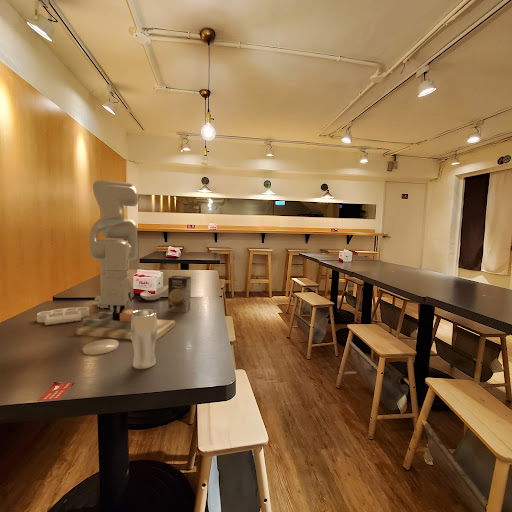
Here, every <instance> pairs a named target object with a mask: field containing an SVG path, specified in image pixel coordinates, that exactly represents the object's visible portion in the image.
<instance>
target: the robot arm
mask: <svg viewBox="0 0 512 512" xmlns="http://www.w3.org/2000/svg"><path fill="white" fill-rule="evenodd" d="M92 191H93V195H94V198H95V200H96V203H97V205H98V208H99V215H100V217H99V219H98V220H96V221H95V223H93V224H92V226H91V228H90V229H89V235H88V247H89V248H88V250H89V254H90V256H91V258H93V259H95V260H99V271H100V273H99V274H100V276H99V277H100V295H96V296H95V298H94V301H97V302H98V303H97V308H99V307H100V308H99V309H104V308H109V310H110V313H113V321H120V313H122V312H124V311H125V309H128V308H131V307H132V300H133V291H132V284H131V279H130V277H129V265H128V261H134V260H136V259H137V258H138V254H139V253H138V252H139V251H138V249H139V248H138V247H139V246H138V243H139V242H138V227H137V223H136V222H135V221H134V220H132V219H125V208H124V207H136V206H137V205H138V202H139V194H138V190H137V188H136V186H135V185H134V184H133V183H131V182H123V181H116V180H115V181H114V180H106V179H105V180H103V179H99V180H96V181H94V182H93V183H92ZM100 233H101V237H103V238H104V239H98V236H99V234H100Z"/></svg>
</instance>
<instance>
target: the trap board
mask: <svg viewBox="0 0 512 512" xmlns="http://www.w3.org/2000/svg"><path fill="white" fill-rule="evenodd" d="M175 326H176V321H175V320H171V319H170V320H169V319H158V318H157V336H156V341H158V339H160V338H161V337H162V336H164V335H165V334H166V333H168V332H169V331H170V330H171V329H173V328H174V327H175ZM75 335H77V336H78V335H79V336H88V337H89V336H90V337H91V336H92V337H99V338H100V337H101V338H110V339H111V338H112V339H123V340H124V339H125V340H132V338H131V328H130V322H126V321H113V313H112V312H109V311H107V312H105V311H100V312H98V318H97V319H96V318H88V317H87V318H86V317H84V318H83V319H82V325H81V326H80V327H77V328H75Z"/></svg>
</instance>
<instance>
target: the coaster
mask: <svg viewBox="0 0 512 512" xmlns="http://www.w3.org/2000/svg"><path fill="white" fill-rule="evenodd" d="M119 344H120V343H119V341H118V340H116V339H114V338H112V339H111V338H110V339H109V338H106V339H99V340H93V341H90V342H88V343H86V344H85V345H84V346H82V353H83V354H84V355H89V356H95V355H96V356H98V355H99V356H100V355H103V354H104V355H105V354H107V353H110V352H112V351H113V352H114V351H115V350H116V349H118V348H119V346H120V345H119Z"/></svg>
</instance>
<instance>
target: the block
mask: <svg viewBox="0 0 512 512" xmlns="http://www.w3.org/2000/svg"><path fill="white" fill-rule="evenodd" d="M134 311H138V309H126V310H124V311H122V313H120V321H126V322H130V328H131V313H132V312H134Z"/></svg>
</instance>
